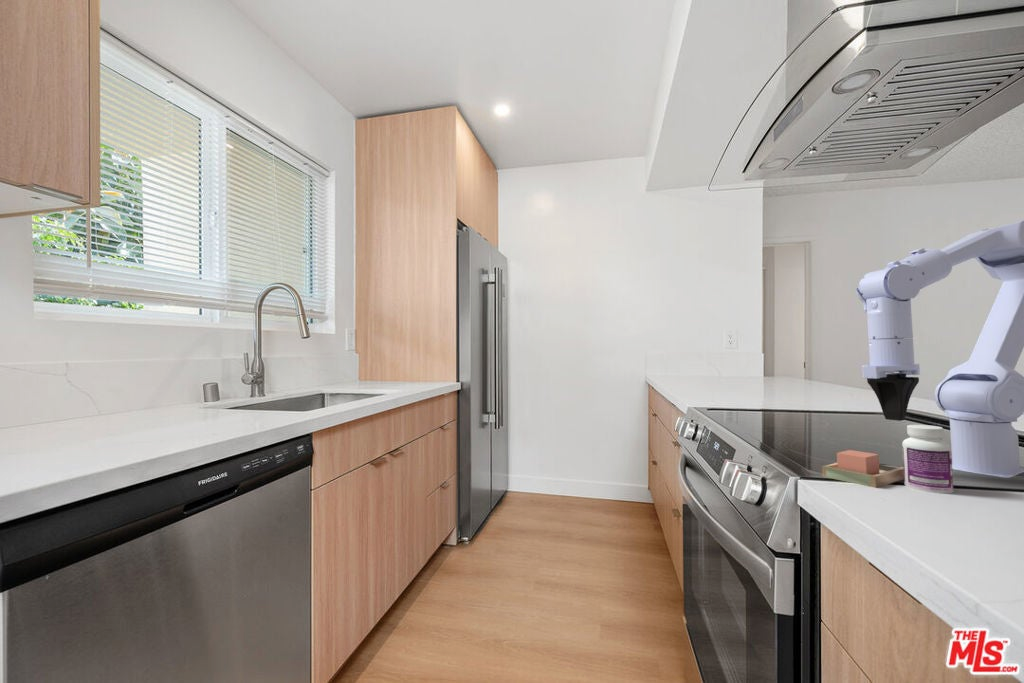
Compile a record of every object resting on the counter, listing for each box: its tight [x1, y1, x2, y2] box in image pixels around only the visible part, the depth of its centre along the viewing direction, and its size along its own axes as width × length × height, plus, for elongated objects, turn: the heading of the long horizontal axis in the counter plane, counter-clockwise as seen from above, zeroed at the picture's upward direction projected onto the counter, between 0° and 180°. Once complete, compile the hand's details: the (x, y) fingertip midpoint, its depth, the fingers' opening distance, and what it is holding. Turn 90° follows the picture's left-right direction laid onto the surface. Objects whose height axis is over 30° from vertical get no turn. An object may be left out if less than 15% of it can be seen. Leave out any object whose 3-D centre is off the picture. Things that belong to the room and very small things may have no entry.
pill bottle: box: [901, 424, 954, 494], centre depth 65 cm, size 5×5×10 cm
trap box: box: [821, 462, 904, 489], centre depth 72 cm, size 16×7×2 cm, turn 117°
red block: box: [836, 449, 880, 475], centre depth 70 cm, size 4×4×4 cm
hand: (894, 419), depth 73 cm, fingers closed
